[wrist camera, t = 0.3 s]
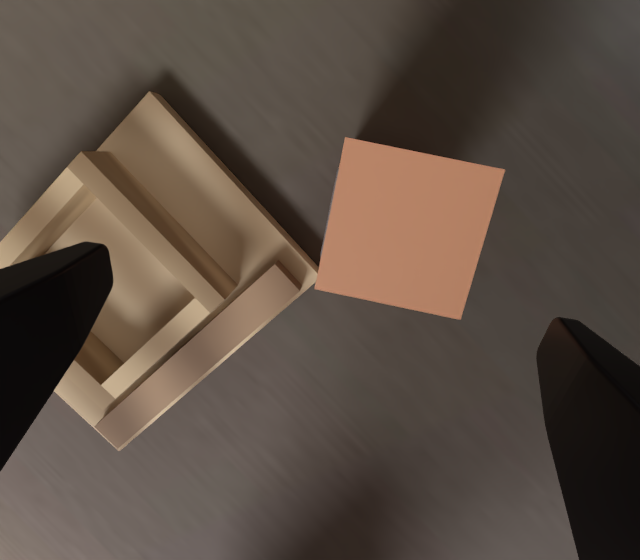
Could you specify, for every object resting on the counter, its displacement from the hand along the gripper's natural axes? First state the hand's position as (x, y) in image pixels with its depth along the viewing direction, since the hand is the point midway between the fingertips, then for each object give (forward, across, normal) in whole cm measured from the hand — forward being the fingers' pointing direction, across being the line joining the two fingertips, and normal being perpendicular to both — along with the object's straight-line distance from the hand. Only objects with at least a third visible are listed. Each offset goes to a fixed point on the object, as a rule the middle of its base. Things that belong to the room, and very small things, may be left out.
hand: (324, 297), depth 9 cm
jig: (+12, +10, +10) cm, 19 cm away
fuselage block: (+15, -2, +4) cm, 15 cm away
